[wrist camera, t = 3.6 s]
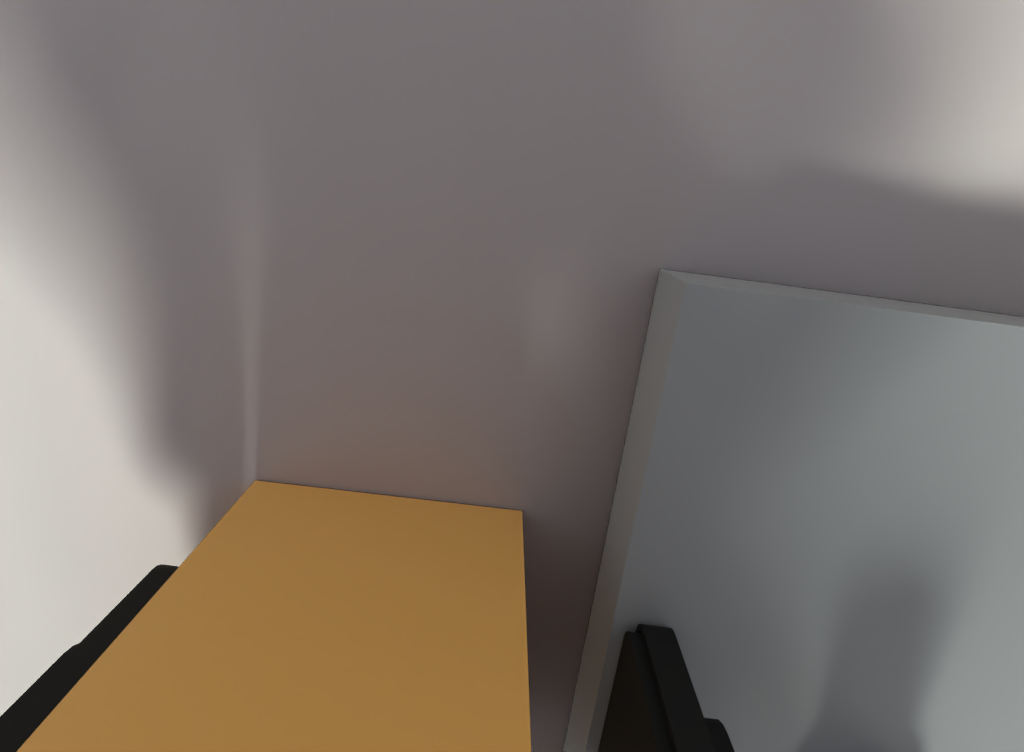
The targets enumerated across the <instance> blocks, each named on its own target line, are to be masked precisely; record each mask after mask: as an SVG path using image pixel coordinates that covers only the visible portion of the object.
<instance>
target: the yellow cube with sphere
mask: <svg viewBox="0 0 1024 752" xmlns="http://www.w3.org/2000/svg"><path fill="white" fill-rule="evenodd" d="M17 752H531V733H530V706H529V679H528V652H527V625H526V598H525V572H524V545H523V518H522V511H518V510H509V509H500V508H492V507H483V506H474V505H466V504H457V503H448V502H439V501H431V500H422V499H413V498H405V497H396V496H387V495H378V494H370V493H361V492H352V491H344V490H335V489H326V488H317V487H309V486H300V485H291V484H282V483H274V482H265V481H256V480H255V481H254V482H253V483H252V485H251V486H250V487H249V488H248V489H247V490H246V491H245V492H244V494H243V495H242V496H241V497H240V498H239V499H238V500H237V502H236V503H235V504H234V505H233V506H232V507H231V508H230V510H229V511H228V512H227V513H226V514H225V515H224V516H223V517H222V519H221V520H220V521H219V522H218V523H217V524H216V525H215V527H214V528H213V529H212V530H211V531H210V532H209V533H208V535H207V536H206V537H205V538H204V539H203V540H202V541H201V543H200V544H199V545H198V546H197V547H196V548H195V549H194V550H193V552H192V553H191V554H190V555H189V556H188V557H187V558H186V560H185V561H184V562H183V563H182V564H181V565H180V566H179V568H178V569H177V570H176V571H175V572H174V573H173V574H172V575H171V577H170V578H169V579H168V580H167V581H166V582H165V583H164V585H163V586H162V587H161V588H160V589H159V590H158V591H157V593H156V594H155V595H154V596H153V597H152V598H151V599H150V600H149V602H148V603H147V604H146V605H145V606H144V607H143V608H142V610H141V611H140V612H139V613H138V614H137V615H136V616H135V618H134V619H133V620H132V621H131V622H130V623H129V624H128V625H127V627H126V628H125V629H124V630H123V631H122V632H121V633H120V635H119V636H118V637H117V638H116V639H115V640H114V641H113V643H112V644H111V645H110V646H109V647H108V648H107V649H106V651H105V652H104V653H103V654H102V655H101V656H100V657H99V658H98V660H97V661H96V662H95V663H94V664H93V665H92V666H91V668H90V669H89V670H88V671H87V672H86V673H85V674H84V676H83V677H82V678H81V679H80V680H79V681H78V682H77V683H76V685H75V686H74V687H73V688H72V689H71V690H70V691H69V693H68V694H67V695H66V696H65V697H64V698H63V699H62V701H61V702H60V703H59V704H58V705H57V706H56V707H55V708H54V710H53V711H52V712H51V713H50V714H49V715H48V716H47V718H46V719H45V720H44V721H43V722H42V723H41V724H40V726H39V727H38V728H37V729H36V730H35V731H34V732H33V733H32V735H31V736H30V737H29V738H28V739H27V740H26V741H25V743H24V744H23V745H22V746H21V747H20V748H19V749H18V751H17Z"/></svg>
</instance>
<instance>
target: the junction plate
mask: <svg viewBox="0 0 1024 752" xmlns="http://www.w3.org/2000/svg"><path fill="white" fill-rule="evenodd" d="M638 624H645V625H653V626H661V627H669V628H672V629H673V630H674V633H675V635H676V638H677V641H678V643H679V646H680V649H681V652H682V655H683V658H684V661H685V664H686V667H687V669H688V672H689V675H690V678H691V681H692V684H693V687H694V690H695V693H696V696H697V698H698V701H699V704H700V707H701V710H702V713H703V716H704V718H711V719H718V720H719V721H720V722H721V723H722V724H723V725H724V727H725V729H726V731H727V733H728V736H729V738H730V741H731V743H732V746H733V749H734V751H735V752H1024V317H1019V316H1012V315H1004V314H997V313H989V312H982V311H974V310H967V309H959V308H951V307H944V306H936V305H929V304H921V303H914V302H906V301H899V300H891V299H883V298H876V297H868V296H861V295H853V294H846V293H838V292H831V291H823V290H815V289H808V288H800V287H793V286H785V285H778V284H770V283H763V282H755V281H748V280H740V279H732V278H725V277H717V276H710V275H702V274H695V273H687V272H680V271H672V270H664V269H660V271H659V276H658V281H657V286H656V291H655V296H654V301H653V306H652V311H651V316H650V321H649V326H648V331H647V336H646V341H645V345H644V350H643V355H642V360H641V365H640V370H639V375H638V380H637V385H636V390H635V395H634V400H633V405H632V410H631V415H630V420H629V425H628V430H627V435H626V440H625V445H624V450H623V455H622V460H621V465H620V470H619V475H618V480H617V485H616V490H615V495H614V500H613V505H612V510H611V515H610V520H609V525H608V530H607V535H606V540H605V545H604V550H603V555H602V560H601V565H600V570H599V574H598V579H597V584H596V589H595V594H594V599H593V604H592V609H591V614H590V619H589V624H588V629H587V634H586V639H585V644H584V649H583V654H582V659H581V664H580V669H579V674H578V679H577V684H576V689H575V694H574V699H573V704H572V709H571V714H570V719H569V724H568V729H567V734H566V739H565V744H564V749H563V752H598V749H599V744H600V740H601V735H602V731H603V726H604V722H605V718H606V713H607V709H608V704H609V700H610V695H611V691H612V687H613V682H614V678H615V673H616V669H617V664H618V660H619V656H620V651H621V647H622V642H623V638H624V635H625V633H626V632H627V631H629V632H636V628H637V626H638Z"/></svg>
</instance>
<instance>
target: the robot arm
mask: <svg viewBox="0 0 1024 752" xmlns="http://www.w3.org/2000/svg"><path fill="white" fill-rule="evenodd" d="M178 568H179V567H178V566H170V565H158V566H156V567H155V568H154V569H152V570H151V571H150V572H149V574H148V575H147V576H146V577H145V578H144V579H143V580H142V581H141V582H140V583H139V584H138V585H137V586H136V587H135V588H134V589H133V590H132V591H131V592H130V593H129V594H128V595H127V596H126V597H125V598H124V599H123V600H122V601H121V602H120V603H119V604H118V605H117V606H116V607H115V608H114V609H113V610H112V611H111V612H110V613H109V614H108V615H107V616H106V617H105V618H104V619H103V620H102V621H101V622H100V623H99V624H98V625H97V626H96V627H95V628H94V629H93V630H92V631H91V632H90V633H89V634H88V635H87V636H86V637H85V638H84V639H83V640H82V641H81V642H80V643H79V644H76V645H74V646H72V647H71V648H70V649H69V650H67V651H66V652H65V653H64V654H63V655H62V656H61V657H60V658H59V659H58V660H57V661H56V662H55V663H54V664H53V665H52V666H51V667H50V668H49V669H48V670H47V671H46V672H45V673H44V674H43V675H42V676H41V677H40V678H39V679H38V680H37V681H36V682H35V683H34V684H33V685H32V686H31V687H30V688H29V689H28V690H27V691H26V692H25V693H24V694H23V695H22V696H21V697H20V698H19V699H18V700H17V701H16V702H15V703H14V704H13V705H12V706H11V707H10V708H9V709H8V710H7V711H6V712H5V713H4V714H3V715H2V716H1V717H0V752H17V751H18V749H19V748H20V747H21V746H22V745H23V744H24V743H25V741H26V740H27V739H28V738H29V737H30V736H31V735H32V733H33V732H34V731H35V730H36V729H37V728H38V727H39V726H40V724H41V723H42V722H43V721H44V720H45V719H46V718H47V716H48V715H49V714H50V713H51V712H52V711H53V710H54V708H55V707H56V706H57V705H58V704H59V703H60V702H61V701H62V699H63V698H64V697H65V696H66V695H67V694H68V693H69V691H70V690H71V689H72V688H73V687H74V686H75V685H76V683H77V682H78V681H79V680H80V679H81V678H82V677H83V676H84V674H85V673H86V672H87V671H88V670H89V669H90V668H91V666H92V665H93V664H94V663H95V662H96V661H97V660H98V658H99V657H100V656H101V655H102V654H103V653H104V652H105V651H106V649H107V648H108V647H109V646H110V645H111V644H112V643H113V641H114V640H115V639H116V638H117V637H118V636H119V635H120V633H121V632H122V631H123V630H124V629H125V628H126V627H127V625H128V624H129V623H130V622H131V621H132V620H133V619H134V618H135V616H136V615H137V614H138V613H139V612H140V611H141V610H142V608H143V607H144V606H145V605H146V604H147V603H148V602H149V600H150V599H151V598H152V597H153V596H154V595H155V594H156V593H157V591H158V590H159V589H160V588H161V587H162V586H163V585H164V583H165V582H166V581H167V580H168V579H169V578H170V577H171V575H172V574H173V573H174V572H175V571H176V570H177V569H178ZM598 752H735V751H734V749H733V746H732V743H731V741H730V738H729V736H728V733H727V731H726V729H725V727H724V725H723V724H722V723H721V722H720V721H719V720H718V719H711V718H704V716H703V713H702V710H701V707H700V704H699V701H698V698H697V696H696V693H695V690H694V687H693V684H692V681H691V678H690V675H689V672H688V669H687V667H686V664H685V661H684V658H683V655H682V652H681V649H680V646H679V643H678V641H677V638H676V635H675V633H674V630H673V629H672V628H669V627H661V626H653V625H645V624H638V626H637V628H636V632H629V631H627V632H626V633H625V635H624V638H623V642H622V647H621V651H620V656H619V660H618V664H617V669H616V673H615V678H614V682H613V687H612V691H611V695H610V700H609V704H608V709H607V713H606V718H605V722H604V726H603V731H602V735H601V740H600V744H599V749H598Z"/></svg>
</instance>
